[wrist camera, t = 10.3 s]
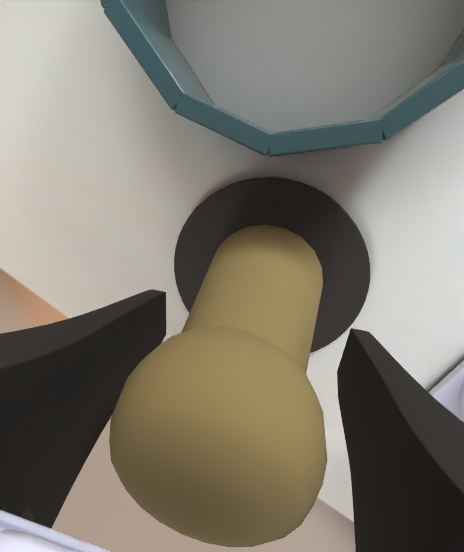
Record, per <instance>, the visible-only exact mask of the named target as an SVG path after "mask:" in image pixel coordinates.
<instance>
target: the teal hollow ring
mask: <svg viewBox="0 0 464 552" xmlns="http://www.w3.org/2000/svg"><path fill="white" fill-rule="evenodd" d="M100 1H101V5H102V7H103V8H104V9H105V10H104V13H105V15H106V16H107V17H108V19H109V20H110V22H111V23H112V25H113V26H114V28H115V29H116V30H117V32H118V33H119V35H120V36H121V38H122V39H123V40H124V42H125V43H126V45H127V46H128V48H129V49H130V51H131V52H132V53H133V55H134V56H135V58H136V59H137V61H138V62H139V63H140V65H141V66H142V68H143V69H144V71H145V72H146V74H147V75H148V76H149V78H150V79H151V81H152V82H153V84H154V85H155V86H156V88H157V89H158V91H159V92H160V94H161V95H162V96H163V98H164V99H165V101H166V102H167V104H168V105H169V107H170V108H171V109H172V110H175V112H176V114H179V115H181V116H183V117H185V118H187V119H189V120H191V121H193V122H195V123H197V124H200V125H202V126H204V127H206V128H208V129H210V130H212V131H214V132H216V133H218V134H220V135H223V136H225V137H227V138H229V139H231V140H233V141H235V142H237V143H239V144H241V145H244V146H246V147H248V148H250V149H252V150H254V151H256V152H258V153H260V154H262V155H269V156H279V155H287V154H295V153H303V152H312V151H320V150H328V149H336V148H344V147H352V146H360V145H368V144H376V143H381V142H382V141H384V140H388V139H390V138H391V137H393V136H394V135H396V134H397V133H399V132H400V131H402V130H403V129H405V128H406V127H408V126H409V125H411V124H412V123H414V122H415V121H417V120H418V119H420V118H421V117H423V116H424V115H426V114H427V113H429V112H430V111H432V110H433V109H435V108H436V107H438V106H439V105H441V104H442V103H444V102H445V101H447V100H448V99H450V98H451V97H453V96H454V95H456V94H457V93H459V92H460V91H462V90H463V89H464V30H463V31H462V33H461V35H460V36H459V38H458V39H457V41H456V43H455V44H454V46H453V47H452V49H451V51H450V52H449V54H448V55H447V57H446V59H445V60H444V62H443V63H442V65H441V67H440V68H439V69H437V70H436V71H434V72H433V73H432V74H430V75H429V76H427V77H426V78H425V79H423V80H422V81H420V82H419V83H418V84H416V85H415V86H414V87H412V88H411V89H409V90H408V91H407V92H405V93H404V94H402V95H401V96H400V97H398V98H397V99H395V100H394V101H393V102H391V103H390V104H388V105H387V106H386V107H384V108H383V109H381V110H380V111H379V112H377V113H376V114H375V115H373V116H372V117H370V118H369V119H368V120H361V121H354V122H347V123H340V124H333V125H327V126H320V127H313V128H306V129H299V130H292V131H285V132H278V133H271V132H268V131H266V130H264V129H262V128H260V127H258V126H256V125H254V124H252V123H249V122H247V121H245V120H243V119H241V118H239V117H237V116H235V115H233V114H230V113H228V112H226V111H224V110H222V109H220V108H218V107H216V106H215V104H214V103H213V101H212V100H211V98H210V97H209V95H208V94H207V92H206V91H205V89H204V88H203V86H202V84H201V83H200V81H199V80H198V78H197V77H196V75H195V74H194V72H193V71H192V69H191V68H190V66H189V65H188V63H187V62H186V60H185V59H184V57H183V56H182V54H181V53H180V51H179V50H178V48H177V47H176V45H175V44H174V42H173V41H172V39H171V34H170V28H169V22H168V15H167V9H166V3H165V0H100Z"/></svg>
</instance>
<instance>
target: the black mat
mask: <svg viewBox="0 0 464 552" xmlns="http://www.w3.org/2000/svg"><path fill="white" fill-rule="evenodd" d="M265 224H266V225H271V226H277V227H282V228H285V229H287V230H289V231H291V232H293V233H295V234H297V235H299V236H300V237H302V238H303V239H304V240H305V241H306V242H307V243H308V245H309V246H310V247H311V248H312V249H313V250H314V251H315V253H316V255H317V258H318V260H319V262H320V264H321V266H322V277H323V287H322V292H321V297H320V303H319V308H318V313H317V318H316V323H315V329H314V334H313V339H312V344H311V350H310V353H311V352H314V351H317V350H319V349H321V348H323V347H325V346H327V345H328V344H330V343H331V342H333V341H334V340H336V339H337V338H338V337H339V336H341V335H342V334H343V333H344V332H345V331H346V330H347V329H348V328H349V327H350V325H351V324H352V323H353V322H354V320H355V319H356V317H357V316H358V314H359V313H360V311H361V309H362V307H363V304H364V302H365V299H366V296H367V293H368V288H369V282H370V263H369V257H368V251H367V248H366V245H365V242H364V239H363V237H362V235H361V233H360V231H359V229H358V227H357V226H356V224H355V223H354V222H353V220H352V219H351V217H350V216H349V215H348V213H347V212H346V211H345V210H344V209H343V208H342V207H341V206H340V205H339V204H338V203H337V202H335V201H334V200H333V199H331V198H330V197H329V196H327V195H326V194H324V193H322V192H321V191H319V190H317V189H315V188H313V187H311V186H308V185H306V184H303V183H301V182H297V181H293V180H289V179H282V178H272V177H270V178H255V179H249V180H243V181H240V182H237V183H234V184H231V185H229V186H227V187H225V188H223V189H221V190H219V191H217V192H215V193H214V194H212V195H211V196H210V197H208V198H207V199H205V200H204V201H203V202H202V203H201V204H200V205H199V206H198V207H197V208H196V209H195V210H194V212H193V213H192V214H191V215H190V216H189V218H188V220H187V221H186V223H185V225H184V226H183V228H182V231H181V233H180V235H179V238H178V242H177V245H176V250H175V258H174V271H175V278H176V283H177V287H178V291H179V293H180V296H181V298H182V301H183V303H184V305H185V306H186V308H187V310H188V312H189V313H190V311H191V309H192V307H193V304H194V302H195V300H196V297H197V295H198V292H199V290H200V288H201V285H202V283H203V281H204V278H205V276H206V274H207V271H208V269H209V267H210V264H211V262H212V260H213V258H214V255H215V253H216V251H217V249H218V247H219V246H220V245H221V244H222V243H223V242H224V241H225V240H226V239H227V238H228V237H229V236H230V235H231V234H233V233H235V232H237V231H239V230H241V229H243V228H245V227H249V226H257V225H265Z"/></svg>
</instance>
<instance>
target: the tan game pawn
mask: <svg viewBox="0 0 464 552" xmlns="http://www.w3.org/2000/svg"><path fill="white" fill-rule="evenodd" d="M322 287H323V277H322V266H321V264H320V262H319V260H318V258H317V255H316V253H315V251H314V250H313V249H312V248H311V247H310V246H309V245H308V243H307V242H306V241H305V240H304V239H303V238H302V237H300V236H299V235H297V234H295V233H293V232H291V231H289V230H287V229H285V228H282V227H277V226H271V225H266V224H265V225H257V226H249V227H245V228H243V229H241V230H239V231H237V232H235V233H233V234H231V235H230V236H229V237H228V238H227V239H226V240H225V241H224V242H223V243H222V244H221V245H220V246H219V247H218V249H217V251H216V253H215V255H214V258H213V260H212V262H211V264H210V267H209V269H208V271H207V274H206V276H205V278H204V281H203V283H202V285H201V288H200V290H199V292H198V295H197V297H196V300H195V302H194V304H193V307H192V309H191V311H190V314H189V316H188V318H187V321H186V323H185V325H184V328H183V330H182V333H180V334H177V335H174V336H172V337H170V338H169V339H167V340H166V341H165V342H163V343H162V344H160V345H159V346H157V347H156V348H155V349H154V350H153V351H152V352H151V353H150V354H148V355H147V356H146V357H145V358H144V359H143V360H142V361H141V362H140V363H139V364H138V365H137V366H136V368H135V369H134V370H133V371H132V373H131V374H130V375H129V376H128V378H127V380H126V382H125V385H124V387H123V390H122V392H121V395H120V397H119V399H118V402H117V404H116V407H115V409H114V412H113V414H112V417H111V424H110V440H109V442H110V454H111V461H112V464H113V466H114V468H115V470H116V472H117V474H118V476H119V478H120V480H121V482H122V484H123V485H124V487H125V489H126V490H127V492H128V493H129V494H130V495H131V496H132V497H133V499H134V500H135V501H136V502H137V503H138V504H139V506H140V507H141V508H143V509H144V510H145V511H146V512H148V513H149V514H150V515H151V516H153V517H154V518H155V519H156V520H158V521H159V522H161V523H163V524H164V525H166V526H168V527H170V528H172V529H173V530H175V531H177V532H179V533H181V534H183V535H186V536H189V537H192V538H194V539H197V540H199V541H202V542H206V543H210V544H216V545H221V546H227V547H253V546H256V545H260V544H263V543H267V542H271V541H274V540H277V539H281V538H284V537H285V536H287V535H288V534H289V533H291V532H292V531H293V530H295V529H296V528H297V527H299V526H300V525H301V524H302V522H303V521H304V519H305V517H306V516H307V514H308V513H309V511H310V510H311V508H312V506H313V505H314V503H315V500H316V498H317V496H318V493H319V491H320V489H321V487H322V484H323V479H324V474H325V469H326V464H327V452H326V441H325V430H324V419H323V411H322V408H321V406H320V403H319V401H318V398H317V396H316V393H315V391H314V389H313V387H312V386H311V384H310V382H309V380H308V378H307V376H306V370H307V365H308V360H309V355H310V350H311V344H312V339H313V334H314V329H315V323H316V318H317V313H318V308H319V303H320V297H321V292H322Z"/></svg>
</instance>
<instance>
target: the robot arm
mask: <svg viewBox="0 0 464 552" xmlns="http://www.w3.org/2000/svg"><path fill="white" fill-rule="evenodd" d="M165 335H166V292H163V291H157V290H148V291H145V292H142V293H139V294H137V295H134V296H131V297H129V298H126V299H124V300H121V301H119V302H116V303H113V304H111V305H108V306H106V307H103V308H100V309H97V310H94V311H91V312H89V313H86V314H83V315H80V316H77V317H73V318H70V319H67V320H63V321H59V322H55V323H52V324H48V325H44V326H38V327H34V328H29V329H24V330H19V331H14V332H9V333H2V334H0V552H112V551H109V550H107V549H104V548H101V547H99V546H96V545H93V544H91V543H88V542H85V541H83V540H80V539H77V538H75V537H72V536H69V535H66V534H64V533H61V532H58V531H56V530H53V529H51V528H52V526H53V524H54V522H55V520H56V518H57V516H58V514H59V512H60V510H61V508H62V506H63V503H64V502H65V500H66V497H67V495H68V493H69V491H70V489H71V487H72V486H73V483H74V482H75V480H76V478H77V476H78V474H79V472H80V470H81V469H82V467H83V465H84V463H85V461H86V459H87V457H88V456H89V454H90V452H91V450H92V448H93V447H94V445H95V443H96V441H97V440H98V438H99V436H100V434H101V432H102V431H103V429H104V427H105V426H106V424H107V422H108V421H109V419H110V417H111V416H112V414H113V412H114V409H115V407H116V404H117V402H118V399H119V397H120V395H121V392H122V390H123V387H124V385H125V382H126V380H127V378H128V376H129V375H130V374H131V373H132V371H133V370H134V369H135V368H136V366H137V365H138V364H139V363H140V362H141V361H142V360H143V359H144V358H145V357H146V356H147V355H148V354H150V353H151V352H152V351H153V350H154V349H155V348H156V347H157V346H159V345H160V344H161V343H162V341H163V339H164V337H165ZM337 379H338V399H339V405H340V411H341V417H342V423H343V428H344V434H345V440H346V445H347V451H348V457H349V463H350V471H351V482H352V495H353V509H354V527H355V544H356V552H464V361H462V362H461V363H460V364H459V365H458V366H457V367H456V368H455V369H454V370H452V371H451V372H450V373H449V374H448V375H447V376H446V377H445V378H444V379H443V380H441V381H440V382H439V383H438V384H437V385H436V386H435V387H434V388H433V389H432V390H430V391H429V392H427V391H426V390H425V389H424V388H423V387H422V386H421V385H420V384H419V383H418V382H417V381H416V380H415V379H414V378H413V377H412V376H411V375H410V374H409V373H408V372H407V371H406V370H405V369H404V368H403V367H402V366H401V365H400V364H399V363H398V362H397V361H396V360H395V359H394V358H393V357H392V356H391V355H390V354H389V353H388V351H387V350H386V349H385V348H384V347H383V346H382V345H381V344H380V343H379V342H378V341H377V340H376V339H375V337H374V336H373V335H372V334H371V333H369V332H367V331H362V330H357V329H352V328H351V330H350V333H349V336H348V339H347V342H346V346H345V349H344V352H343V355H342V358H341V361H340V365H339V368H338V371H337Z"/></svg>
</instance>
